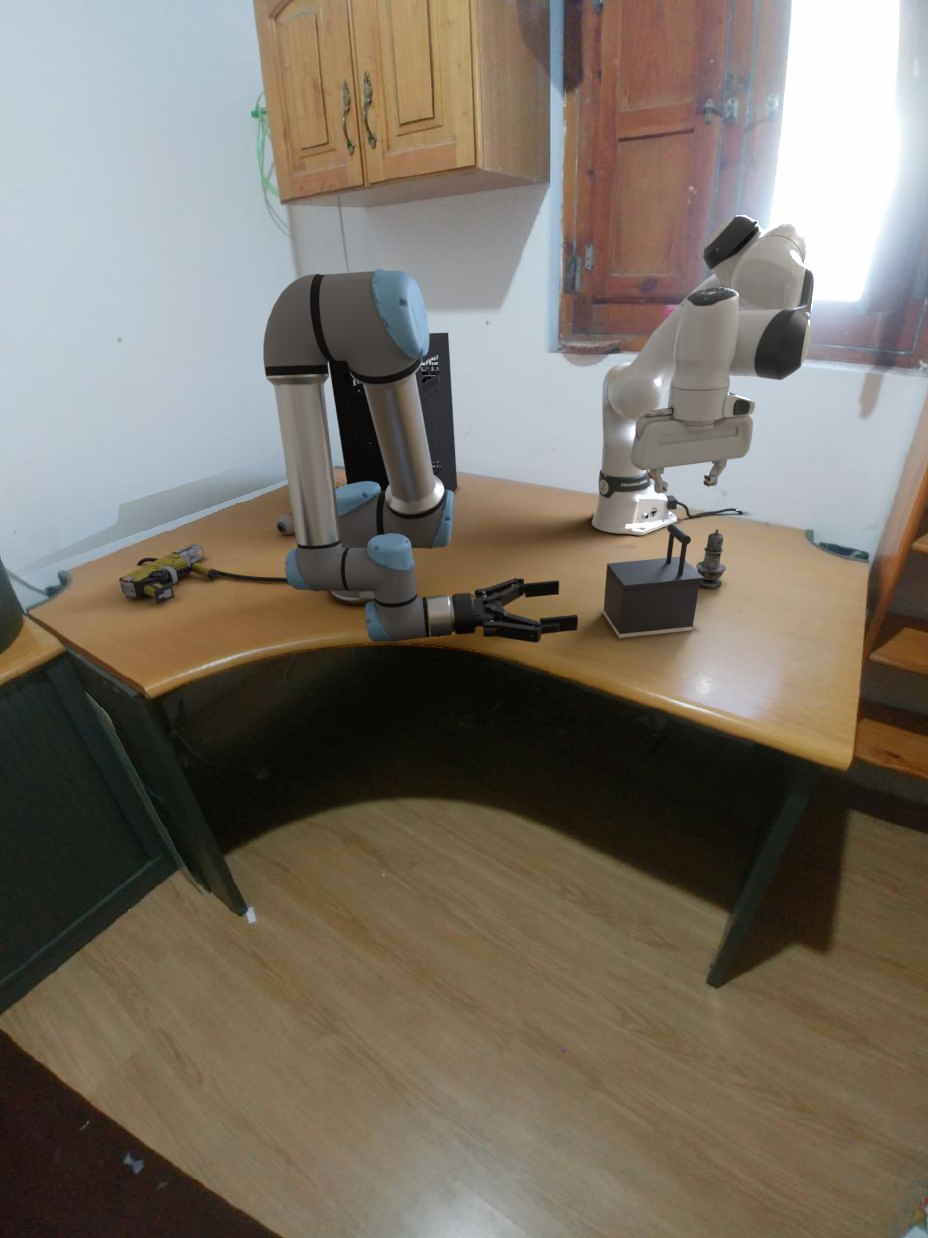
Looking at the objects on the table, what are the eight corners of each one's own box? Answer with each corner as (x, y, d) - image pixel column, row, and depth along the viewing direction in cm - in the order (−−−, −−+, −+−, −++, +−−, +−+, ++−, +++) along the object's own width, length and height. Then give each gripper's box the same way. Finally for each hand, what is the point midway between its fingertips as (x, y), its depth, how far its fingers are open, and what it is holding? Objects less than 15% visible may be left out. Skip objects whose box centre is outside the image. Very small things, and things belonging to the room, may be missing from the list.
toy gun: (240, 551, 148) (190, 541, 152) (168, 591, 128) (113, 578, 132) (243, 568, 150) (193, 558, 154) (172, 610, 130) (117, 597, 134)
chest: (671, 606, 120) (677, 561, 116) (692, 630, 112) (700, 583, 107) (603, 613, 119) (606, 568, 114) (619, 637, 111) (623, 590, 106)
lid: (680, 560, 116) (686, 518, 111) (703, 582, 107) (710, 537, 103) (606, 568, 114) (609, 525, 110) (623, 590, 106) (627, 545, 102)
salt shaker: (725, 588, 125) (735, 534, 119) (695, 587, 126) (703, 534, 120) (720, 576, 130) (730, 523, 124) (692, 575, 131) (700, 523, 125)
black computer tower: (424, 530, 162) (407, 348, 139) (353, 528, 166) (326, 351, 144) (457, 486, 193) (448, 332, 171) (397, 485, 198) (380, 334, 175)
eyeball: (273, 537, 164) (268, 516, 161) (287, 528, 169) (282, 508, 166) (291, 539, 161) (286, 518, 158) (305, 530, 166) (301, 510, 163)
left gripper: (448, 600, 122) (551, 591, 123) (460, 670, 101) (584, 658, 102) (445, 567, 118) (552, 557, 120) (457, 632, 97) (587, 620, 98)
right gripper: (647, 415, 92) (638, 502, 99) (764, 401, 96) (748, 486, 102) (627, 407, 97) (620, 490, 104) (739, 395, 101) (726, 476, 108)
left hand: (567, 603), depth 111 cm, fingers open, 13 cm apart
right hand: (685, 488), depth 103 cm, fingers open, 8 cm apart
